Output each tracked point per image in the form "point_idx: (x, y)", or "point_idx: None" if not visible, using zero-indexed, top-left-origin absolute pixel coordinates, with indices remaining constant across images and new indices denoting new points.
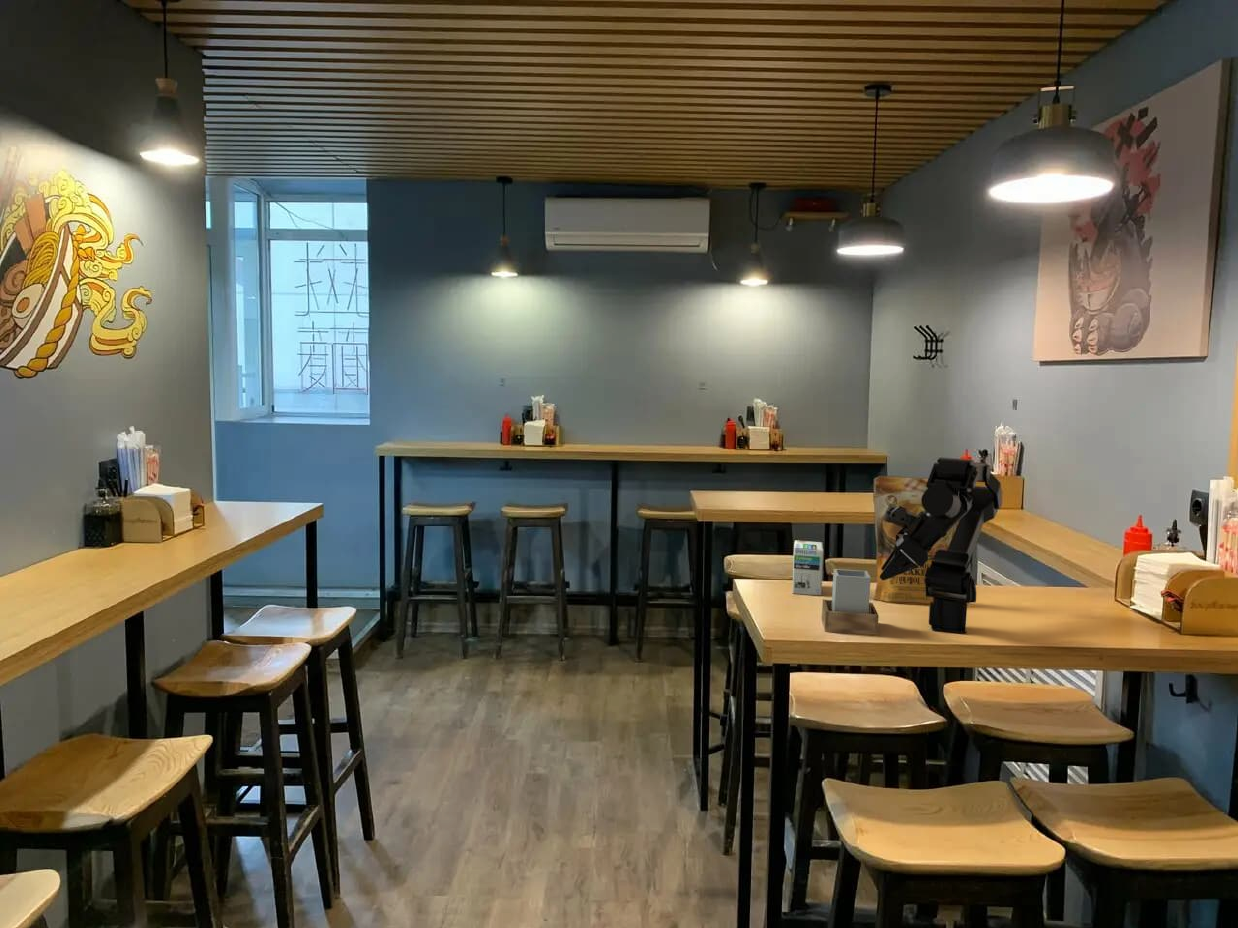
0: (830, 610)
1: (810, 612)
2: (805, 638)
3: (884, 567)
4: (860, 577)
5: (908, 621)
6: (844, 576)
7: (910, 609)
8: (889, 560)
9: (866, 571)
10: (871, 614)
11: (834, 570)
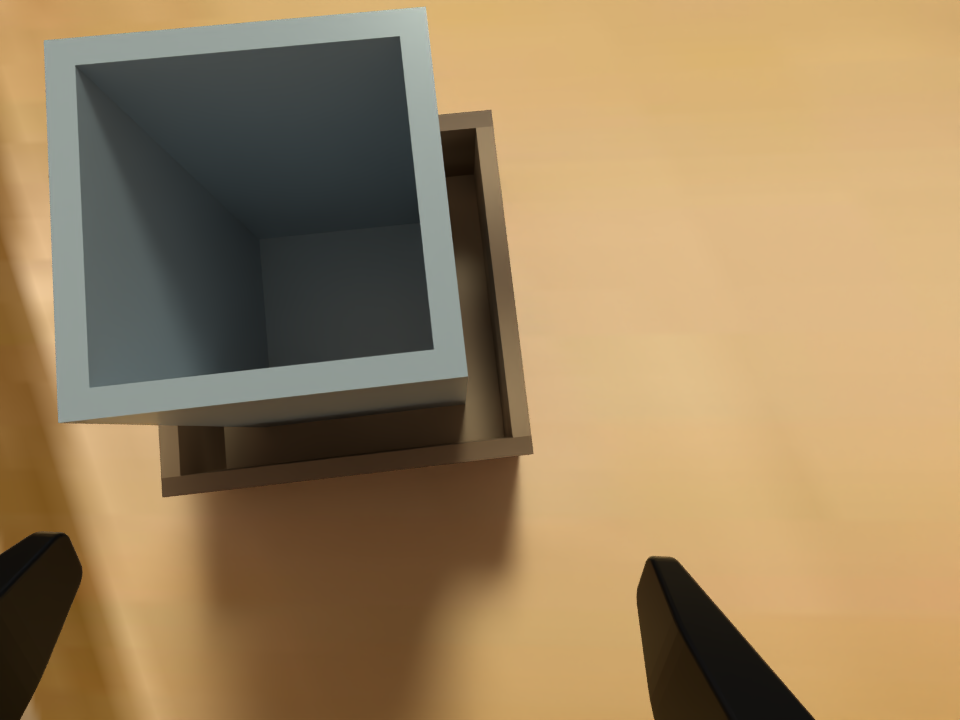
0: (478, 193)
1: (600, 104)
2: (32, 105)
3: (652, 601)
4: (54, 304)
5: (633, 678)
6: (50, 128)
7: (956, 701)
8: (699, 710)
9: (440, 372)
10: (168, 446)
11: (338, 16)
